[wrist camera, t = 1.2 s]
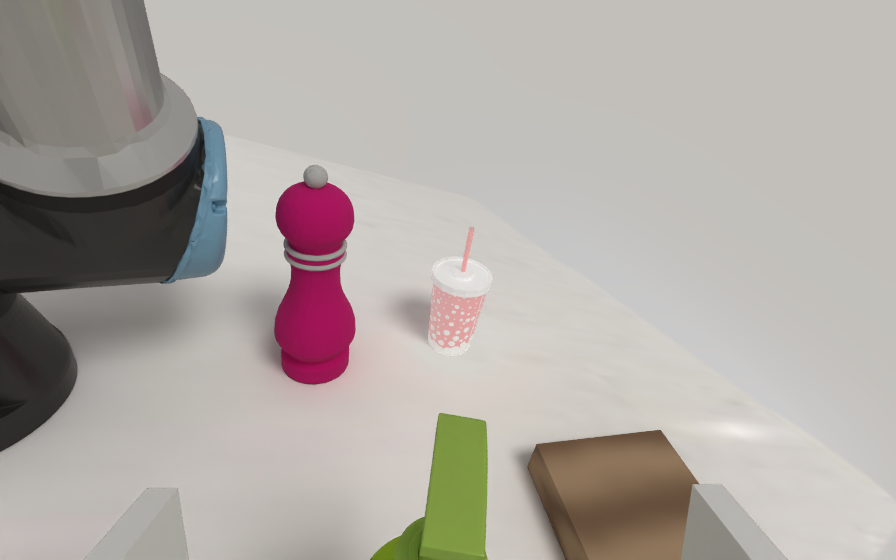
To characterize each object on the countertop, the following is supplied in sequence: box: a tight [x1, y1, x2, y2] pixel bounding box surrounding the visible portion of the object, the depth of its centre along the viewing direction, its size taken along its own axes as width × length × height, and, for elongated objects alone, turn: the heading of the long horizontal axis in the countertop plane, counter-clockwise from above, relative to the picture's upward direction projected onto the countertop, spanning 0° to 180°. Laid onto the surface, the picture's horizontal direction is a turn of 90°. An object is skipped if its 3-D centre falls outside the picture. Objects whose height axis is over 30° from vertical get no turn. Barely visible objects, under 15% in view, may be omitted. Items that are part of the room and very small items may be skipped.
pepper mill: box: [274, 165, 355, 384], centre depth 41 cm, size 7×7×20 cm
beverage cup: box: [428, 227, 493, 356], centre depth 48 cm, size 6×6×14 cm
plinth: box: [528, 430, 699, 560], centre depth 36 cm, size 12×12×3 cm
